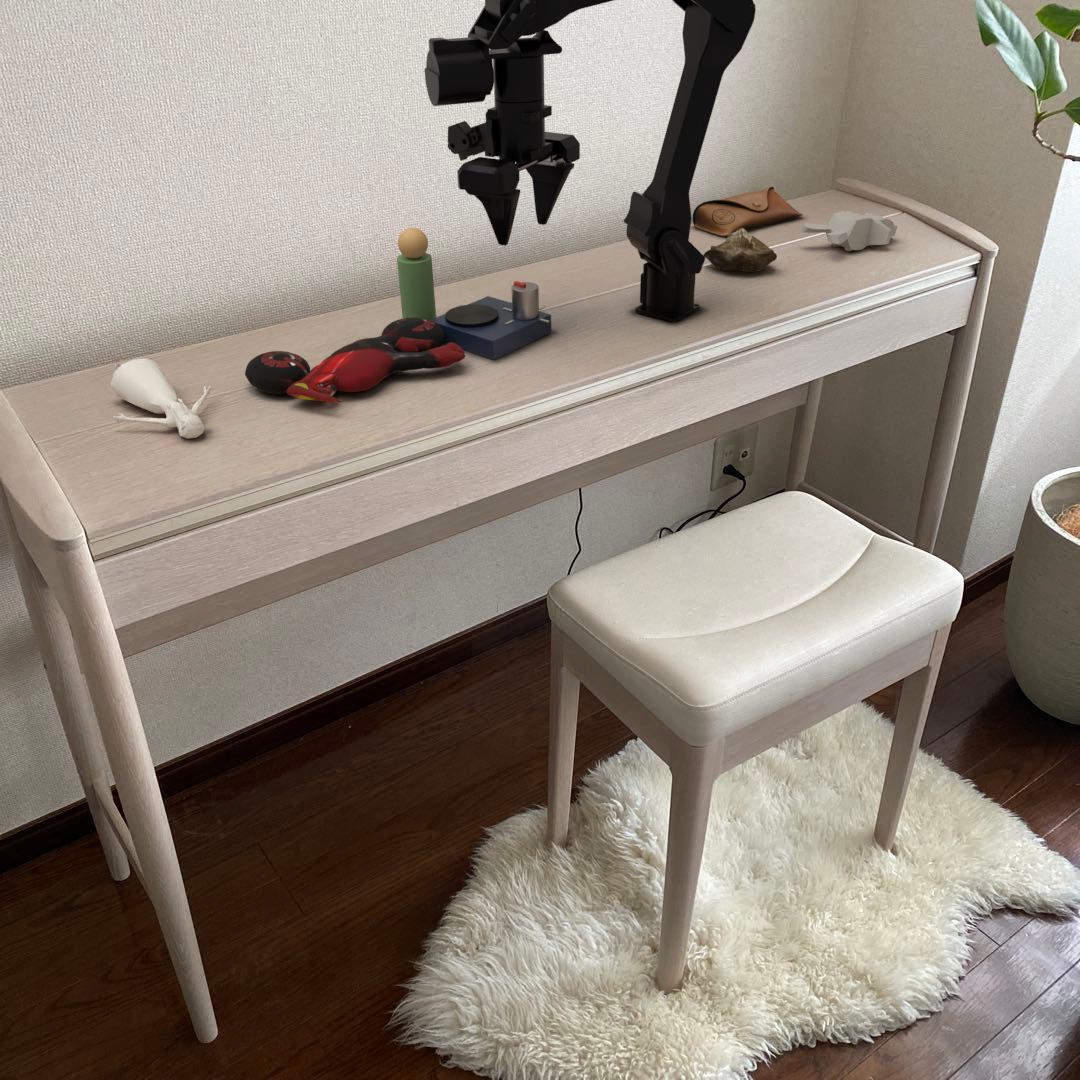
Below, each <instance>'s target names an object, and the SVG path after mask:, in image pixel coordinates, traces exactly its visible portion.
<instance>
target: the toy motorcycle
mask: <svg viewBox="0 0 1080 1080" xmlns="http://www.w3.org/2000/svg"><path fill="white" fill-rule="evenodd" d="M443 342H444V334H443V330H442V328H441V327H440V326H439V325H438V324H437V323H435V322H434V321H431V320H429V319H425V318H415V317H412V318H403V317H402V318H400V319H396V320H394V321H391V322H390V323H389V324H387V325H386V326H385V327H384V329H383V330H382V332H381V335H378V336H376V337H374V336H373V337H366V338H365V337H364V338H361V339H357V340H355V341H353V342H351V343H348V344H346V345H344V346H342V347H340V348H339V349H337V350H335V351H334V352H333V353H331V354H330V355H329V356H328V357H326V358H325V359H323V360H322V361H321V362H320V364H317V365H315V366H314V367H313V368H311V366H310V364H309V362H308V361H307V360H306V359H305V358H303V357H302V356H301V355H298V354H296V353H293V352H290V351H283V350H273V351H272V350H271V351H267V352H263V353H260V354H259V355H256V356H254V357H253V358H252V359H250V361H249V362H248V363H247V365H246V367H245V371H244V375H245V378H246V379H247V382H248V383H249V384H250V385H251V386H252V387H254V388H256V389H257V390H259V391H260V392H264V393H266V394H275V395H276V394H278V395H279V394H280V395H281V394H287V395H288V396H291V397H293V398H295V399H298V400H308V401H316V402H324V403H331V402H332V403H334V402H335V403H342V402H343V401H341V400H340V399H338V398H336V397H335V394H336V393H337V391H339V392H344V393H358V392H364V391H367V390H371V389H372V388H375V387H376V386H377V385H378V384H380V382H382V381H383V380H384V379H385V378H386V377H388V376H390V375H391V374H393V373H395V372H405V371H415V370H422V369H429V370H430V369H431V370H433V369H441V368H445V367H449V366H452V365H453V364H457V363H459V362H461V361H462V360H464V359H465V358H466V356H467V355H466V354H465V353H466V352H465V350H463V349H462V348H460V347H459V346H458V345H457V344H455V343H453V342H449V343H448V344H445V345H443V344H444V343H443Z"/></svg>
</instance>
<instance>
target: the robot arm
mask: <svg viewBox="0 0 1080 1080" xmlns="http://www.w3.org/2000/svg"><path fill="white" fill-rule="evenodd" d="M613 1H615V0H484V6H483V8H482V10H481V11H480V12H479V14H478V16H477V19H475V21H474V23H473V25H472V27H471V28H470V30H469V32H468V34H467V37H457V38H455V37H453V38H444V37H430V38H429V39H428V51H427V55H426V62H425V65H426V66H425V67H424V80H425V81H424V82H425V86H426V92H427V96H428V99H429V102H430V103H431V105H432V106H433V107H439V106H440V107H442V106H451V105H452V106H453V105H464V104H473V103H483V102H484V101H485V100H486V97H487V96H491V94H492V91H493V95H494V97H493V98H494V99H493V100H494V106H493V107H490V108H488V109H487V110H486V112H485V122H483V123H480V124H477V125H474V126H470V124H469V123H468V122H467V121H466V120H464V121H461V122H457V123H455V124H452V125H449V126H448V127H447V149H448V150H449V151H450V152H451V153H452V154H454V155H457V156H458V158H459V161H460V162H462V161H465V160H468V158H469V157H471V156H476V155H479V154H481V153H484V157H483V156H478V157H476V158H473V159H471V160H469V161H466V162H464V163H462V164H461V166H460V167H459V168H458V169H457V170H456V171H457V172H456V173H457V188H458V189H459V190H462V191H465V192H466V193H467V195H470V196H474V197H475V198H476V199H477V200H478V201H479V202H480V203H481V204H482V206H483V208H484V210H485V212H486V215H487V217H488V220H489V223H490V226H491V227H492V231H493V233H494V236H495V238H496V241H497V244H498V245H499V246H504V247H505V246H508V244H509V241H510V238H511V235H512V230H513V225H514V222H515V217H516V213H517V208H518V204H519V199H520V195H521V189H519V188H517V187H518V185H519V183H520V181H521V180H520V178H521V177H520V172H521V171H524V170H526V172H527V173H528V175H529V176H530V178H531V180H532V190H533V198H534V207H535V216H536V221H537V224H538V225H542V226H545V225H547V224H548V221H549V219H550V217H551V215H552V213H553V210H554V208H555V205H556V203H557V201H558V198H559V196H560V194H561V191H562V190H563V187H564V185H565V183H566V181H567V179H568V177H569V176H570V173H571V171H572V170H573V169H574V168H575V163H574V162H576V161H578V160H580V159H581V143H580V142H579V140H578V139H577V138H576V136H575V135H574V134H570V133H569V134H568V133H560V132H551V131H546V118H548V117H550V116H552V114H553V109H552V107H553V106H552V105H547V104H545V56H547V55H558V54H561V53H562V52H563V47H562V45H560V44H558V43H557V41H555V40H554V39H553V37H552V36H551V34H550V32H549V31H548V30H546V29H548V28H550V27H552V26H554V25H556V24H558V23H559V22H561V21H562V20H564V19H565V18H566V17H568V16H569V15H571V14H572V13H575V12H577V11H579V10H582V9H586V8H591V7H593V6H599V5H602V4H605V3H609V2H613ZM671 1H672V2H673V3H674V4H675V5H676V6H677V7H679V8H680V9H681V10H682V11H683V12H684V17H683V27H682V43H683V51H684V64H683V69H682V72H681V75H680V79H679V83H678V87H677V91H676V94H675V97H674V101H673V105H672V109H671V112H670V116H669V120H668V124H667V127H666V131H665V134H664V138H663V142H662V145H661V148H660V152H659V156H658V160H657V164H656V167H655V171H654V175H653V178H652V181H651V182H650V184H649V185H647V187H646V189H645V190H644V191H643V192H642V193H640V192H637V191H633V192H632V193H631V196H630V203H629V209H628V212H627V214H626V216H625V218H624V219H623V223H624V224H625V225H626V230H625V231H626V237H627V239H628V241H629V243H630V245H632V247H634V248H635V249H636V250H637V253H638V255H639V258H640V259H641V260H644V261H645V263H643V266H642V267H643V268H642V273H641V274H640V283H639V284H640V286H639V303H640V305H638V306H636V307H635V308H634V312H635V313H639V314H642V315H645V316H649V317H652V318H655V319H660V320H663V321H667V322H671V323H675V322H678V321H680V320H682V319H683V318H685V317H687V316H689V315H691V314H693V313H695V312H697V311H699V310H700V309H701V305H700V304H699V303H695V291H696V290H695V288H696V275H697V274H700V273H701V272H702V269H703V266H704V264H705V260H706V258H705V257H704V255H703V253H701V251H699V250H698V248H697V247H695V246H694V245H693V243H692V242H691V241H690V233H691V225H692V220H693V217H692V209H691V201H690V190H691V186H692V182H693V180H694V179H693V178H694V177H695V172H696V169H697V166H698V162H699V159H700V155H701V151H702V148H703V145H704V142H705V139H706V135H707V131H708V127H709V124H710V120H711V118H712V114H713V111H714V107H715V103H716V100H717V97H718V93H719V91H720V90H719V89H720V87H721V82H722V79H723V75H724V73H725V71H726V70H727V68H728V67H729V66H730V65H731V64H732V62H733V60H734V59H735V58H736V57H737V56H738V54H740V52H741V51H742V49H743V46H744V44H745V42H746V40H747V38H748V35H749V34H750V31H751V29H752V26H753V24H754V22H755V17H756V8H757V7H756V4H755V2H754V0H671ZM532 35H533V36H532ZM526 36H527V37H526ZM528 36H531V37H528ZM495 157H498V158H495Z"/></svg>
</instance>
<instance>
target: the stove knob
mask: <svg viewBox="0 0 1080 1080" xmlns="http://www.w3.org/2000/svg"><path fill="white" fill-rule="evenodd" d="M539 291H540V290H539V284H537V283H535V282H531V281H518V280H515V281H513V284H512V285H511V303H512V315H513V317H514V318H516V319H519V320H531V319H535V318H537V317H538V316H539V311H540V310H539V308H540V293H539Z"/></svg>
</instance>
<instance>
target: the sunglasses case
mask: <svg viewBox="0 0 1080 1080" xmlns="http://www.w3.org/2000/svg"><path fill="white" fill-rule="evenodd" d="M801 216H803V214H802V213H800V212H799V211H798V210H796V208H794V207H793V206H792V205H791V204H790V203H789V202H788V201H786V199H785V198H783V196H781V195H780V194H779V193H778V192H777V191H775V187H774V186H768V187H767V188H765V189H761V190H757V191H751V192H747V193H741V194H737V195H733V196H729V197H725V198H721V199H712V200H711V199H710V200H707V201H704V202H701V203H699V204H698V205H697V206H696V207H694V209H693V212H692V223H693V226H694V227H695V228H696V229H698V230H701V231H703V232H705V233H707V234H712V235H716V236H720V237H721V236H722V237H728V235H729V234H730V233H734V232H736V231H737V230H738V229H740V228H744V229H745V230H746V231H750V230H755V229H759V228H762V227H763V228H764V227H767V226H772V225H777V224H781V223H783V222H788V221H791V220H793V219H796V218H799V217H801Z"/></svg>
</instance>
